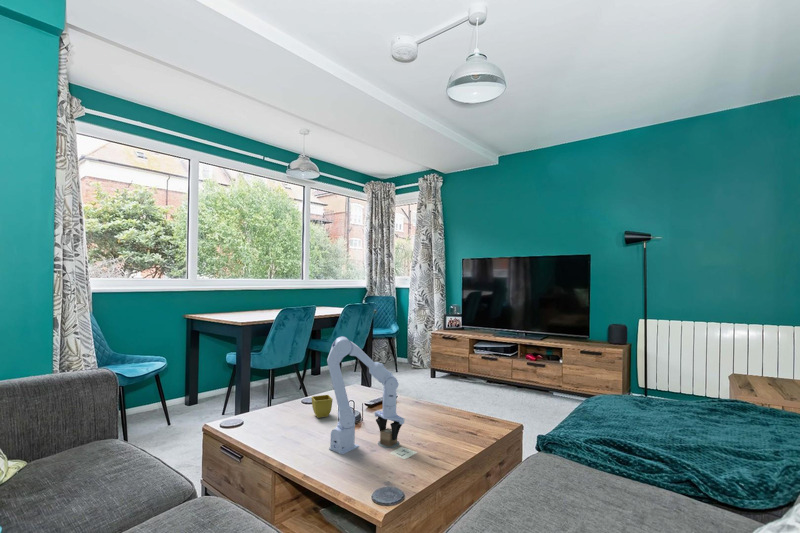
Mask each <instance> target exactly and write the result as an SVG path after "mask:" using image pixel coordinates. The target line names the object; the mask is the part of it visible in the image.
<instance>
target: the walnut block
mask: <svg viewBox="0 0 800 533" xmlns="http://www.w3.org/2000/svg"><path fill="white" fill-rule="evenodd" d="M379 433H380V434H379V435H380V436H379V437H380V438H379V441H380V444H383V445H385V446H388V447H390V446H392V445H394V444H396V443H397V441H398V438H397V439H396V440H392V429H391V427H386V429H385V430H382V431H380V430H379Z"/></svg>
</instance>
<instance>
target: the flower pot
mask: <svg viewBox="0 0 800 533" xmlns="http://www.w3.org/2000/svg"><path fill="white" fill-rule="evenodd" d="M311 406H312V410H313V413H314V415H315V416H316V417H317V418H318V419H320V418H326V417H329V415H330V414H331V412H332V407H333V398H332V396H330V395H329V394H323V395H313V396H311Z"/></svg>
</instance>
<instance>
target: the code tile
mask: <svg viewBox="0 0 800 533" xmlns="http://www.w3.org/2000/svg"><path fill="white" fill-rule="evenodd" d="M388 454H389V455H392V456H395V457H397V458H400V459H403V460H406V459H409V458H410V457H412V456H414V455H416V454H418V452H417V451H415V450H413V449H409V448H406V447H404V446H401V447H397V448H396V449H395V450H393V451H390V452H389V453H388Z"/></svg>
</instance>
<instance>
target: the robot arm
mask: <svg viewBox="0 0 800 533" xmlns="http://www.w3.org/2000/svg"><path fill="white" fill-rule="evenodd" d="M347 355H349V356H350V357H356V358H357V359H358V360H359V361H360V362H362V363H363V364H364V365H365V366H366V367H367V368H368V373H369V374H370V375H371V376H372V377H373V378H375V379H376V380H377V381H378V382H379V383H380V384H381V385H382V386H383V390H382V391H383V392H382V411H381V410H376V411H374V417H376V419H375V422H376V423H377V425H378V428H379V432H380V431H382V430H385V429H387V423H388V421H391V423H390V429H392V440H396V439H397V440H398V435H399V432H400V430H401V427H402V426H403V425H404V424H405V418H404V417H402V416H400V415H398V413H397V400H398V399H397V396H398V394H397V389H398V387H399V381H398V379H397V378H396V376H395V375H394V374H393V373H392V371H391V370H390V371H389V370H388V369H387V368H386V367H385V366H384V363H383V362H381V363H380V361H374V360H372V358H371V357H369V356H368V354H366V353H365V351H363V349H361V347H360V346H358V345H357V344H356V343H354V342H353V341H351V340H349V338H348V337H346V336H339V337H337V338H336V339H334V341H333V343H332V344H331V347H330V351H329V353H328V356H327V359H326V363H327V367H328V371H329V375H330V379H331V383H332V387H333V391H334V395H335V399H336V403H337V408H338V410H337V417H338V421H337V424H336V426H335V428H334V429H333V428H332V430H331V432H330V447H329V448H328V449H329V450H331V451H333V452H335V453H339V454H340V455H344V454H347V453H349V452H350V451H351V452H352V451H353V450H355V449H357V448H359V447H360V445H359V444H357V443H355V439H356V438H355V437H356V423H355V422H356V416H355V414H354V411H353V408H352V407H351V406H350V402H349V398H348V394H347V389H346V387H345V386H346V385H345V381H344V377H343V374H342V370H341V365H340V363H341V362H342V361H343V359H344V358H345V357H346V356H347Z"/></svg>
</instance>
